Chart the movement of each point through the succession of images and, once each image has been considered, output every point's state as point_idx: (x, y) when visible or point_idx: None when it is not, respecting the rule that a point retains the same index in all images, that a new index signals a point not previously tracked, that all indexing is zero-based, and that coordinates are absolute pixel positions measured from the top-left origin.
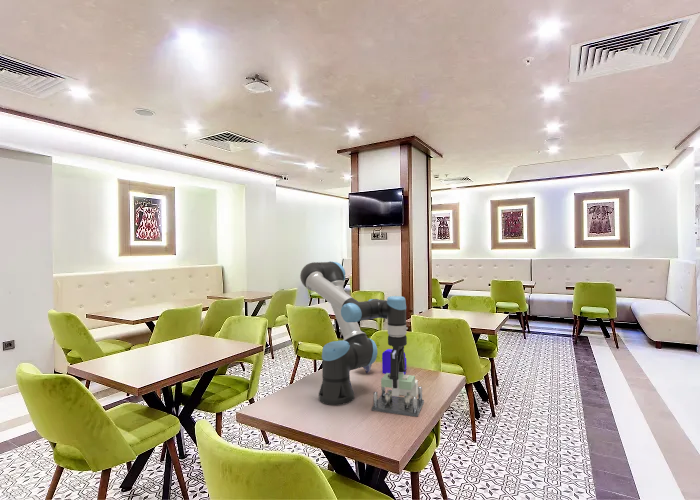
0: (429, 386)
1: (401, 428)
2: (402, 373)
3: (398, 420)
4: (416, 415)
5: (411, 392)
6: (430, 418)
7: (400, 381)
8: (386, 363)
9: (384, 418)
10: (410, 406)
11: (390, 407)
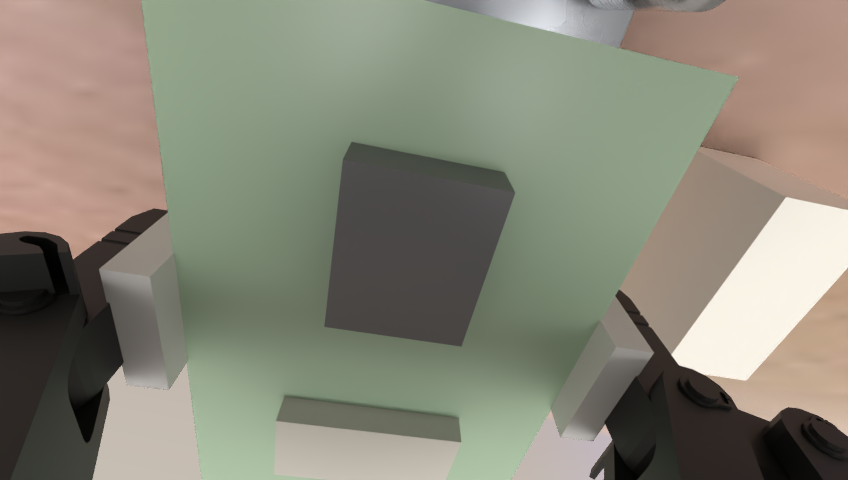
0: (793, 360)
1: (11, 185)
2: (563, 412)
3: (133, 160)
4: None
5: (635, 269)
6: None
7: (194, 373)
8: None
9: (111, 32)
10: None
11: None
